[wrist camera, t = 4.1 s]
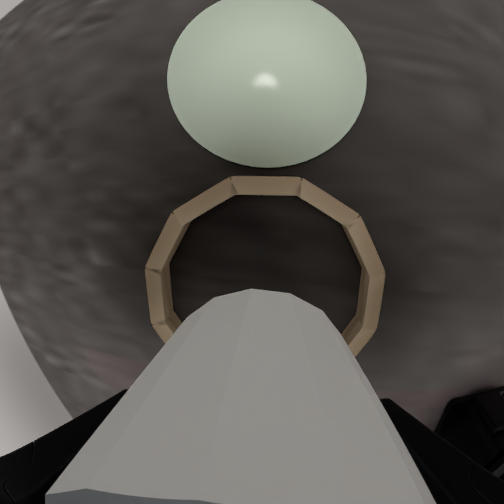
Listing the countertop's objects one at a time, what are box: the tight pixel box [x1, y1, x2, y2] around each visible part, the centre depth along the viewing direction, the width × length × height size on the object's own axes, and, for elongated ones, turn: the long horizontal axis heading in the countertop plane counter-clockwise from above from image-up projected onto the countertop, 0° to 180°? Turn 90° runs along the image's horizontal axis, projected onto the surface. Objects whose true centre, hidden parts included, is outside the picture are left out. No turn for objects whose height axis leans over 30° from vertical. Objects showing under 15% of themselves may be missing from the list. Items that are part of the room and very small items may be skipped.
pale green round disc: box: [167, 0, 366, 168], centre depth 13 cm, size 10×10×1 cm
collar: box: [145, 176, 385, 357], centre depth 16 cm, size 12×12×2 cm
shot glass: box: [45, 289, 436, 504], centre depth 6 cm, size 7×7×7 cm
